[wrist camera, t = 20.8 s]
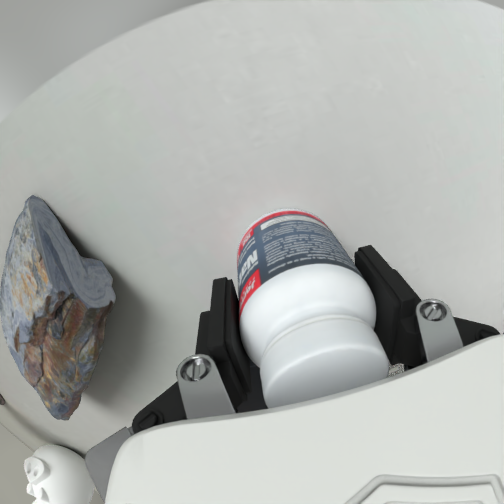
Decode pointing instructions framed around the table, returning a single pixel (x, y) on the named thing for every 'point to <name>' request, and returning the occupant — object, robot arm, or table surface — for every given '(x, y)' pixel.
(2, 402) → the figurine
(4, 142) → the table surface
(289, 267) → the pill bottle
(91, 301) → the stone
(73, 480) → the piggy bank
